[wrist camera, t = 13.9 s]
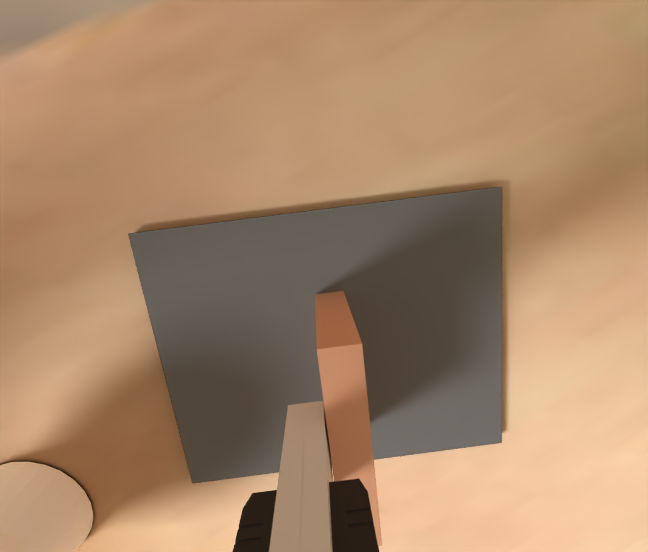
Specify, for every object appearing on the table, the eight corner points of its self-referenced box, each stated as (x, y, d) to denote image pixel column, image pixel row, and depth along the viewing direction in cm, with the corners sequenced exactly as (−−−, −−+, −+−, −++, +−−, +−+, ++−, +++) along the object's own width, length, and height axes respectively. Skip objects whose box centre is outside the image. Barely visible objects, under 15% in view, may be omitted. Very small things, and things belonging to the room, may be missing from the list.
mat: (195, 475, 21) (192, 483, 20) (134, 233, 17) (128, 233, 17) (496, 436, 21) (501, 442, 21) (495, 187, 18) (502, 186, 17)
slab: (332, 431, 20) (343, 550, 13) (315, 294, 18) (316, 349, 11) (358, 428, 20) (382, 545, 13) (343, 290, 18) (362, 343, 11)
